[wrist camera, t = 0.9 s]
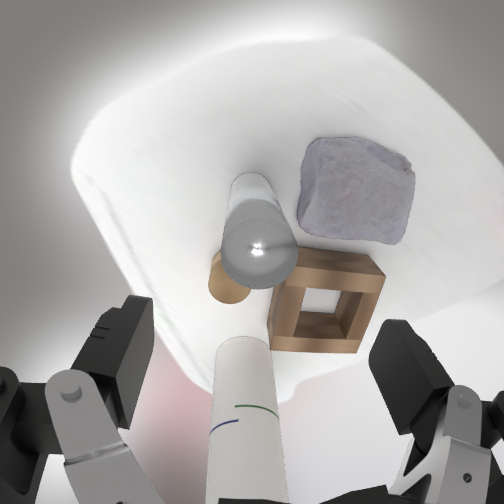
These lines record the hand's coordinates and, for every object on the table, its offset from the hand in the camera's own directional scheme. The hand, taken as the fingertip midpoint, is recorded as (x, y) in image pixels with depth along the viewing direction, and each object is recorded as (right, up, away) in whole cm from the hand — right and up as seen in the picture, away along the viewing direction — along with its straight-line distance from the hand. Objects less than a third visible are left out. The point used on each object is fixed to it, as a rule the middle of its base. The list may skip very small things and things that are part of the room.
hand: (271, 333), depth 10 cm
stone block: (+10, +10, +20) cm, 24 cm away
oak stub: (-3, +1, +23) cm, 23 cm away
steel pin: (-1, +8, +20) cm, 21 cm away
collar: (+7, -2, +24) cm, 25 cm away
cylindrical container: (-2, -11, +28) cm, 30 cm away
